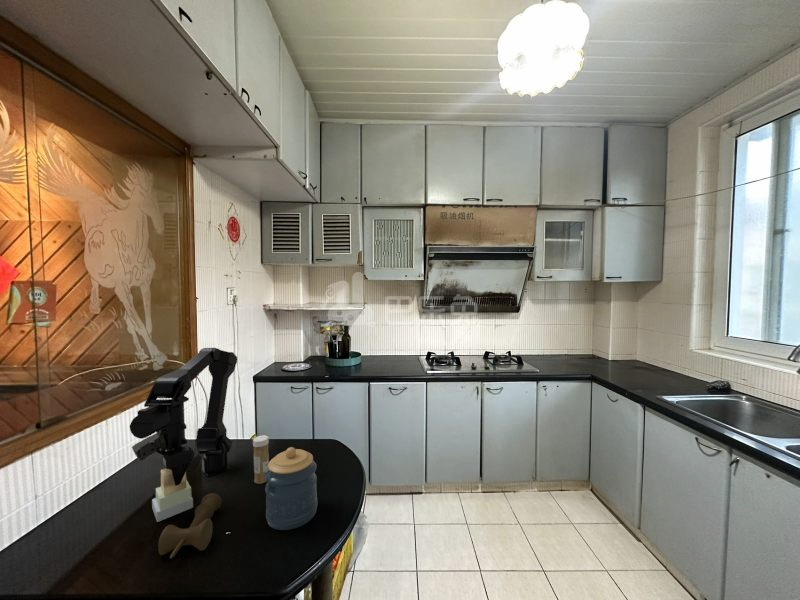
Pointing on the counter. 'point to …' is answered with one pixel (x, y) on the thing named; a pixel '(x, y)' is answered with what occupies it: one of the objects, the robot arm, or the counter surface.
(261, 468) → the sprinkles bottle
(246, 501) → the counter surface
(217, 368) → the robot arm
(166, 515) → the base block
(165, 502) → the sage block
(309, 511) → the canister
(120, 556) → the counter surface
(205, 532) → the kendama
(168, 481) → the maple cube
